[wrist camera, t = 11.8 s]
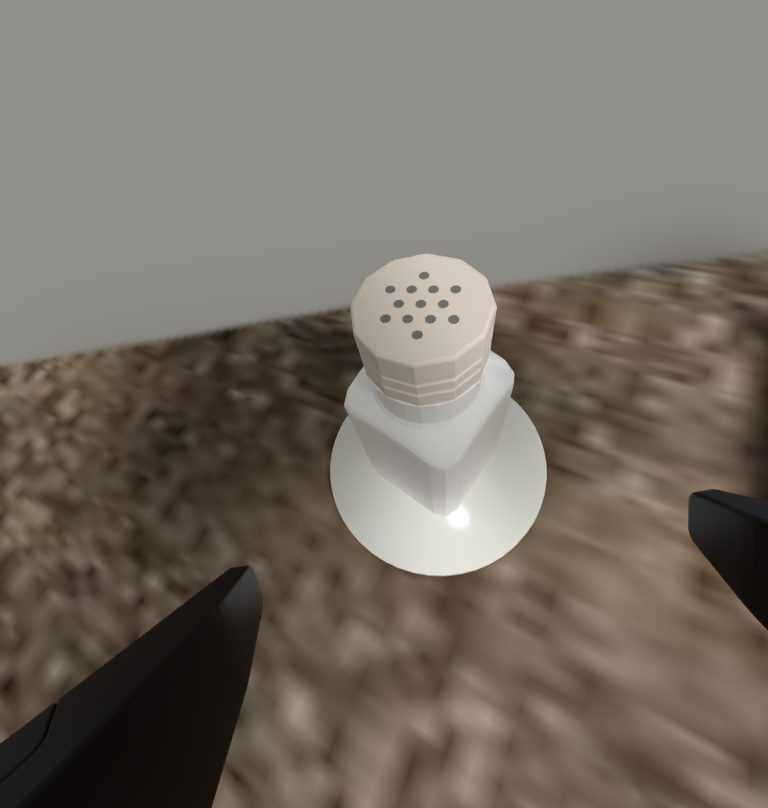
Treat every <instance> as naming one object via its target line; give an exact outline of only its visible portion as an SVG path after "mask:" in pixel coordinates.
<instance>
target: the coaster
mask: <svg viewBox="0 0 768 808" xmlns="http://www.w3.org/2000/svg"><path fill="white" fill-rule="evenodd" d="M330 480H331V487H332V493H333V496H334V500H335V503H336V506H337V508H338V511H339V513H340V515H341V517H342V519H343V521H344V522H345V524H346V525H347V527H348V528H349V530H350V531H351V533H352V534H353V535H354V536H355V537H356V538H357V540H358V541H359V542H360V543H361V544H362V545H363V546H365V547H366V548H367V549H368V550H369V551H370V552H371V553H373V554H374V555H375V556H377V557H378V558H380V559H381V560H383V561H384V562H386V563H388V564H390V565H392V566H394V567H396V568H398V569H401V570H404V571H407V572H410V573H414V574H419V575H425V576H440V577H446V576H455V575H462V574H465V573H469V572H473V571H476V570H479V569H481V568H483V567H486V566H488V565H490V564H492V563H493V562H495V561H497V560H498V559H500V558H502V557H503V556H504V555H505V554H507V553H508V552H509V551H510V550H511V549H513V548H514V547H515V546H516V545H517V543H518V542H519V541H520V540H521V539H522V538H523V537H524V536H525V534H526V533H527V532H528V530H529V529H530V527H531V526H532V524H533V523H534V521H535V519H536V517H537V515H538V512H539V510H540V508H541V505H542V501H543V498H544V494H545V488H546V480H547V471H546V460H545V453H544V449H543V446H542V443H541V440H540V437H539V435H538V433H537V431H536V428H535V426H534V425H533V423H532V422H531V420H530V418H529V417H528V415H527V414H526V413H525V412H524V410H523V409H522V408H521V407H520V406H519V405H518V404H517V403H516V402H515V401H514V400H513V399H512V398H511V397H510V400H509V404H508V407H507V411H506V415H505V418H504V422H503V425H502V429H501V433H500V436H499V440H498V444H497V447H496V451H495V454H494V455H493V457H492V458H491V460H490V461H489V463H488V464H487V466H486V467H485V469H484V470H483V472H482V473H481V475H480V476H479V478H478V479H477V480H476V482H475V483H474V485H473V486H472V488H471V489H470V491H469V492H468V494H467V495H466V497H465V498H464V500H463V501H462V503H461V504H460V506H459V507H458V509H457V510H456V511H454V512H453V513H451V514H450V515H448V516H447V517H446V516H442V515H438V514H434V513H433V512H431V511H430V510H428V509H427V508H426V507H424V506H423V505H421V504H420V503H419V502H417V501H416V500H414V499H413V498H411V497H410V496H409V495H407V494H406V493H404V492H403V491H402V490H400V489H399V488H397V487H396V486H394V485H393V484H392V483H390V482H389V481H387V480H386V479H385V478H383V477H382V476H380V475H379V474H378V473H377V472H376V470H375V469H374V467H373V465H372V463H371V461H370V459H369V457H368V455H367V453H366V451H365V449H364V447H363V445H362V443H361V441H360V438H359V436H358V434H357V432H356V430H355V428H354V426H353V424H352V422H351V420H350V418H349V415H348V416H347V418H346V419H345V421H344V422H343V424H342V426H341V428H340V430H339V432H338V435H337V437H336V440H335V443H334V447H333V451H332V455H331V464H330Z"/></svg>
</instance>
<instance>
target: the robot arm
mask: <svg viewBox="0 0 768 808" xmlns="http://www.w3.org/2000/svg"><path fill="white" fill-rule="evenodd" d="M688 529H689V534H690V536H691V538H692V540H693V542H694V543H695V545H696V546H697V547H698V548H699V550H700V551H701V552H702V553H703V554H704V556H705V557H706V558H707V559H708V561H709V562H710V563H711V564H712V566H713V567H714V568H715V569H716V571H717V572H718V573H719V574H720V576H721V577H722V578H723V579H724V581H725V582H726V583H727V584H728V586H729V587H730V588H731V589H732V590H733V592H734V593H735V594H736V595H737V597H738V598H739V599H740V600H741V602H742V603H743V604H744V605H745V606H746V607H747V609H748V610H749V611H750V612H751V613H752V614H753V615H754V616H755V618H756V619H757V620H758V621H759V622H760V623H761V624H762V625H763V626H764V627H765V628H766V629H767V630H768V501H764V500H760V499H755V498H751V497H747V496H742V495H738V494H734V493H729V492H725V491H721V490H716V489H710V490H704V491H698V492H694V493H692V494H691V495H690V497H689V507H688ZM262 609H263V600H262V595H261V592H260V589H259V586H258V583H257V580H256V577H255V574H254V571H253V569H252V568H251V567H250V566H248V565H246V566H240V567H234V568H230V569H229V570H227V571H226V572H225V573H223V574H222V575H221V576H219V577H218V578H217V579H216V580H214V581H213V582H212V583H210V584H209V585H208V586H206V587H205V588H204V589H202V590H201V591H200V592H199V593H197V594H196V595H195V596H193V597H192V598H191V599H189V600H188V601H187V602H185V603H184V604H183V605H182V606H180V607H179V608H178V609H176V610H175V611H174V612H172V613H171V614H170V615H168V616H167V617H166V618H165V619H163V620H162V621H161V622H159V623H158V624H157V625H155V626H154V627H153V628H151V629H150V630H149V631H148V632H146V633H145V634H144V635H142V636H141V637H140V638H138V639H137V640H136V641H134V642H133V643H132V644H131V645H129V646H128V647H127V648H125V649H124V650H123V651H121V652H120V653H119V654H117V655H116V656H115V657H114V658H112V659H111V660H110V661H108V662H107V663H106V664H104V665H103V666H102V667H100V668H99V669H98V670H97V671H95V672H94V673H93V674H91V675H90V676H89V677H87V678H86V679H85V680H83V681H82V682H81V683H80V684H78V685H77V686H76V687H74V688H73V689H72V690H70V691H69V692H68V693H67V694H65V695H64V696H63V697H61V698H60V699H59V700H58V703H57V704H56V703H54V704H52V705H51V706H49V707H48V708H47V709H45V710H44V711H43V712H41V713H40V714H39V715H38V716H36V717H35V718H34V719H32V720H31V721H30V722H28V723H27V724H26V725H24V726H23V727H22V728H20V729H19V730H18V731H16V732H15V733H14V734H12V735H11V736H10V737H8V738H7V739H6V740H4V741H3V742H2V743H0V808H212V804H213V801H214V798H215V794H216V791H217V787H218V784H219V781H220V777H221V774H222V771H223V767H224V764H225V761H226V757H227V754H228V750H229V747H230V744H231V740H232V737H233V734H234V730H235V727H236V723H237V720H238V717H239V713H240V710H241V707H242V703H243V700H244V696H245V693H246V689H247V685H248V681H249V676H250V672H251V667H252V661H253V656H254V651H255V646H256V641H257V635H258V630H259V625H260V620H261V615H262Z"/></svg>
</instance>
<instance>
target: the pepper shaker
mask: <svg viewBox="0 0 768 808" xmlns="http://www.w3.org/2000/svg"><path fill="white" fill-rule="evenodd" d="M496 309H497V306H496V303H495V300H494V298H493V295H492V292H491V289H490V286H489V284H488V281H487V278H486V277H484V276H483V275H482V274H480V273H479V272H477V271H476V270H475V269H473V268H472V267H471V266H469V265H468V264H466V263H465V262H464V261H462V260H461V259H456V258H450V257H445V256H439V255H433V254H427V253H426V254H421V255H417V256H412V257H407V258H402V259H397V260H393V261H391V262H389V263H388V264H387V265H385V266H383V267H382V268H380V269H379V270H377V271H376V272H374V273H373V274H371V275H370V276H368V277H367V278H365V280H364V282H363V283H362V285H361V287H360V289H359V291H358V292H357V294H356V296H355V298H354V300H353V301H352V303H351V305H350V310H351V318H352V327H353V335H354V338H355V341H356V344H357V347H358V350H359V353H360V356H361V359H362V362H363V364H364V367H363V368H362V369H361V371H360V372H359V373H358V375H357V376H356V378H355V379H354V381H353V382H352V383H351V385H350V386H349V388H348V390H347V394H346V399H345V403H344V407H345V409H346V411H347V413H348V415H349V418H350V420H351V422H352V424H353V426H354V428H355V430H356V432H357V434H358V436H359V438H360V441H361V443H362V445H363V447H364V449H365V451H366V453H367V455H368V457H369V459H370V461H371V463H372V465H373V467H374V469H375V470H376V472H377V473H378V474H379V475H380V476H382V477H383V478H385V479H386V480H387V481H389V482H390V483H392V484H393V485H394V486H396V487H397V488H399V489H400V490H402V491H403V492H404V493H406V494H407V495H409V496H410V497H411V498H413V499H414V500H416V501H417V502H419V503H420V504H421V505H423V506H424V507H426V508H427V509H428V510H430V511H431V512H433V513H434V514H438V515H442V516H446V517H447V516H448V515H450V514H451V513H453V512H454V511H456V510H457V509H458V507H459V506H460V504H461V503H462V501H463V500H464V498H465V497H466V495H467V494H468V492H469V491H470V489H471V488H472V486H473V485H474V483H475V482H476V480H477V479H478V478H479V476H480V475H481V473H482V472H483V470H484V469H485V467H486V466H487V464H488V463H489V461H490V460H491V458H492V457H493V455H494V454H495V451H496V447H497V444H498V440H499V436H500V433H501V429H502V425H503V422H504V418H505V415H506V411H507V407H508V404H509V400H510V396H511V393H512V389H513V385H514V376H515V375H514V372H513V371H512V369H511V368H510V366H509V365H508V364H507V362H506V361H505V360H504V359H503V358H501V357H500V356H498V355H497V354H495V353H493V352H492V351H490V348H491V340H492V335H493V328H494V322H495V316H496Z"/></svg>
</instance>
